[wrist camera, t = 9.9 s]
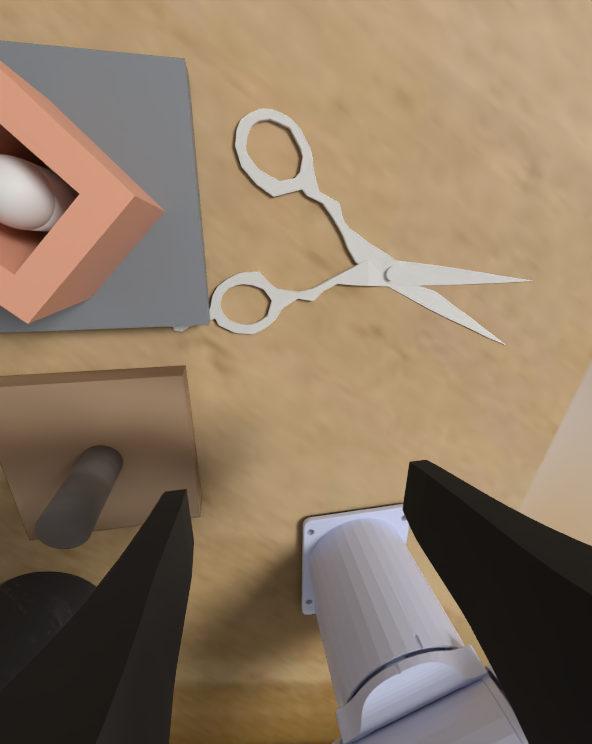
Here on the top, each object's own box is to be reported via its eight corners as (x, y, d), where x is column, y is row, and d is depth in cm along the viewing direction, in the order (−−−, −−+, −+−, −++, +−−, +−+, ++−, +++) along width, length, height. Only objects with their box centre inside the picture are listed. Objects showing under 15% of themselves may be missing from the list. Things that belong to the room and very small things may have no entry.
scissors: (206, 82, 14) (569, 223, 19) (207, 90, 14) (557, 224, 20) (171, 329, 17) (488, 393, 22) (173, 326, 18) (480, 388, 23)
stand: (201, 499, 21) (193, 589, 16) (43, 519, 20) (-29, 626, 14) (185, 365, 18) (167, 419, 12) (-6, 376, 16) (-124, 444, 11)
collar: (165, 211, 14) (134, 195, 9) (90, 298, 15) (27, 324, 10) (49, 100, 12) (-60, 12, 8) (-31, 206, 13) (-177, 184, 8)
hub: (210, 318, 17) (202, 353, 12) (-11, 325, 16) (-141, 371, 10) (188, 77, 14) (163, -34, 8) (-102, 51, 12) (-381, -112, 6)
